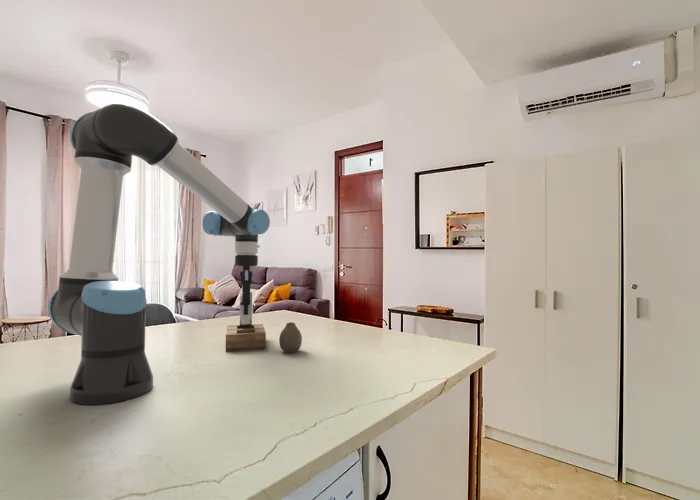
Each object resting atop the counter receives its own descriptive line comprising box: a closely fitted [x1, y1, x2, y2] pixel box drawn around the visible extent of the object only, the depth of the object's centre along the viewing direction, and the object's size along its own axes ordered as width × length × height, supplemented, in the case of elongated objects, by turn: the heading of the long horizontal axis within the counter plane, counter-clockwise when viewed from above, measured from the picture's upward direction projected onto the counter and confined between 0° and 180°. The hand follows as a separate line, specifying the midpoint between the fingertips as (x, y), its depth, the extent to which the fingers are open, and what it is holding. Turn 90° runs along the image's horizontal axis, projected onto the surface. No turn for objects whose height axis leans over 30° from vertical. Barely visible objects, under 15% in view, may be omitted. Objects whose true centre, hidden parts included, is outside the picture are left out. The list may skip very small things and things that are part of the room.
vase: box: [278, 321, 303, 354], centre depth 116 cm, size 7×7×9 cm
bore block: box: [225, 323, 267, 352], centre depth 125 cm, size 16×12×5 cm
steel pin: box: [239, 291, 253, 329], centre depth 128 cm, size 4×4×14 cm
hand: (245, 322), depth 128 cm, fingers closed on steel pin, 4 cm apart
